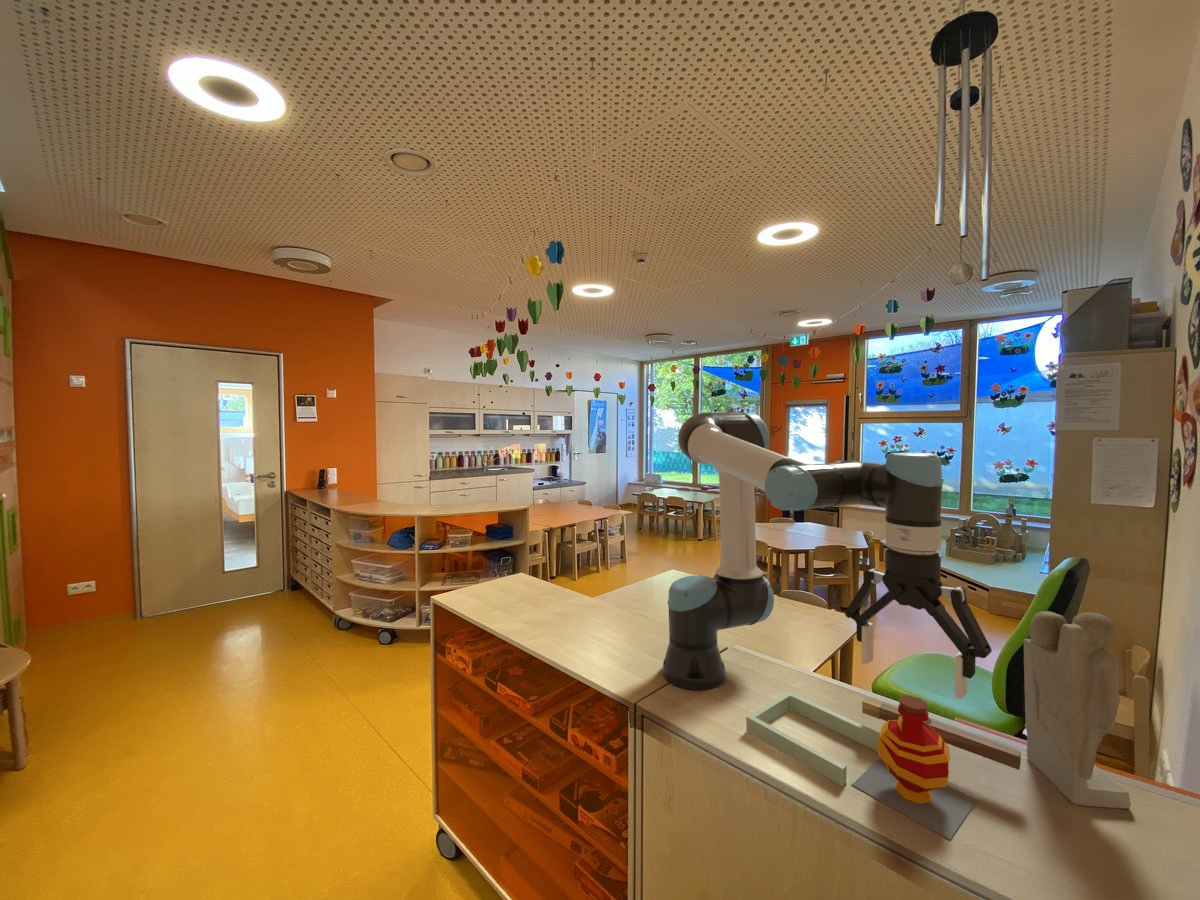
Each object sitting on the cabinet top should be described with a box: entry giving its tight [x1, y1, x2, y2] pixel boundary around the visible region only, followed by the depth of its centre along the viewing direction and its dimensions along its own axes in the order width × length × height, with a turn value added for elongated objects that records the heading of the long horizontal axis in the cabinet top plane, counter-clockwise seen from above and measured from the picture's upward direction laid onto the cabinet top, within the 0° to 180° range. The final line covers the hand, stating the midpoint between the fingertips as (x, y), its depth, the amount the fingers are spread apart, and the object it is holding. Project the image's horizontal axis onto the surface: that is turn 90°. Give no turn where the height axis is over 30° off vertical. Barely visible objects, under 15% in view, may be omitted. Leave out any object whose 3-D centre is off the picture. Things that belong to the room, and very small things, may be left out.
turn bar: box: [861, 696, 1022, 771], centre depth 86 cm, size 4×23×2 cm, turn 44°
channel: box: [745, 691, 880, 787], centre depth 93 cm, size 19×15×3 cm
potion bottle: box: [876, 694, 951, 804], centre depth 79 cm, size 10×10×15 cm
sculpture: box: [1023, 610, 1131, 810], centre depth 79 cm, size 15×8×30 cm, turn 168°
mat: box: [851, 756, 978, 841], centre depth 79 cm, size 14×12×1 cm
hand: (910, 677), depth 79 cm, fingers open, 13 cm apart
